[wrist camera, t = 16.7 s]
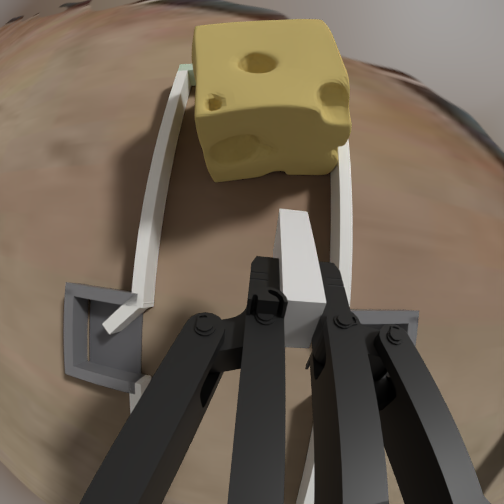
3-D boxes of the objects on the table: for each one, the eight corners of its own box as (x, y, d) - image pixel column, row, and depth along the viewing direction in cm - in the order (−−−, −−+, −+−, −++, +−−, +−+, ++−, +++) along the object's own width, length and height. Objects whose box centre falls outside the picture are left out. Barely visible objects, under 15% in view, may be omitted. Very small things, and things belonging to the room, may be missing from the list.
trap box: (387, 104, 25) (396, 91, 22) (363, 493, 18) (370, 505, 16) (130, 84, 24) (123, 70, 22) (94, 470, 18) (84, 481, 16)
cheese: (329, 177, 23) (373, 113, 13) (206, 188, 23) (181, 121, 13) (305, 90, 25) (326, 17, 15) (201, 96, 24) (185, 21, 14)
